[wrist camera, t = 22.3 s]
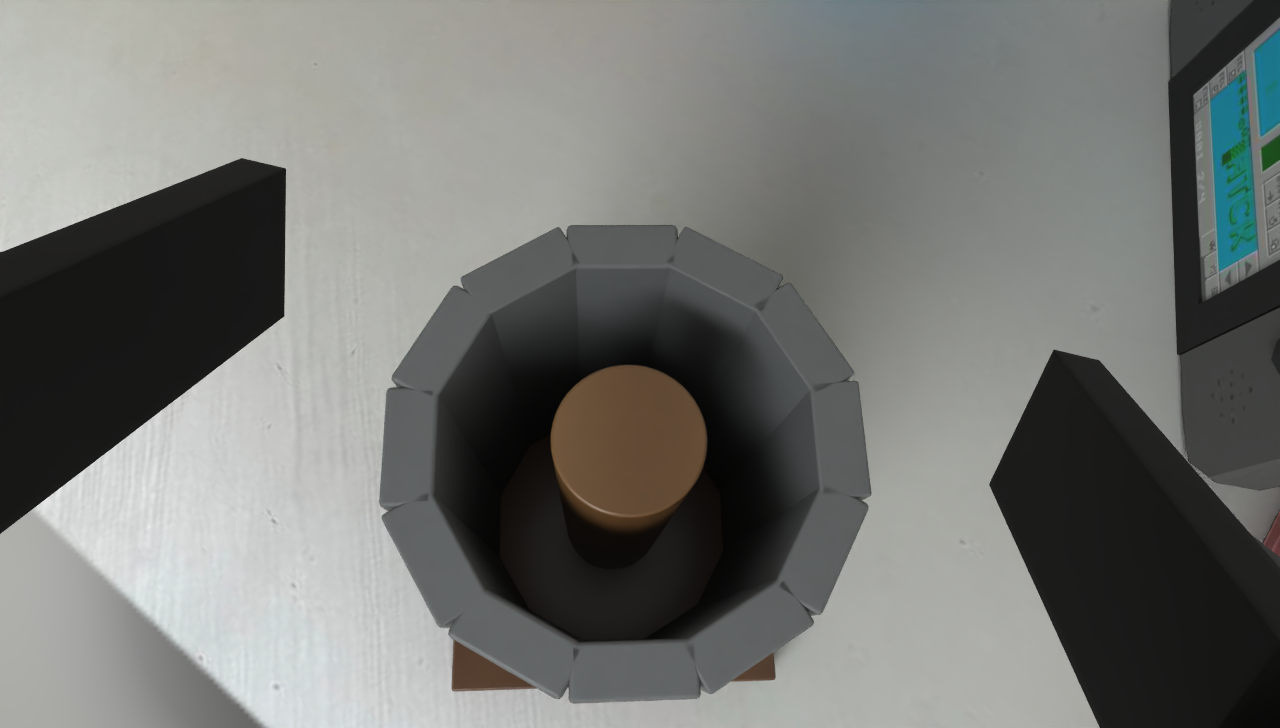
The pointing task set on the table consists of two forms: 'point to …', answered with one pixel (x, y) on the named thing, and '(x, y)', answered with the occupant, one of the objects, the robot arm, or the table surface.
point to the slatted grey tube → (523, 414)
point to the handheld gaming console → (1227, 234)
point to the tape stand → (610, 518)
